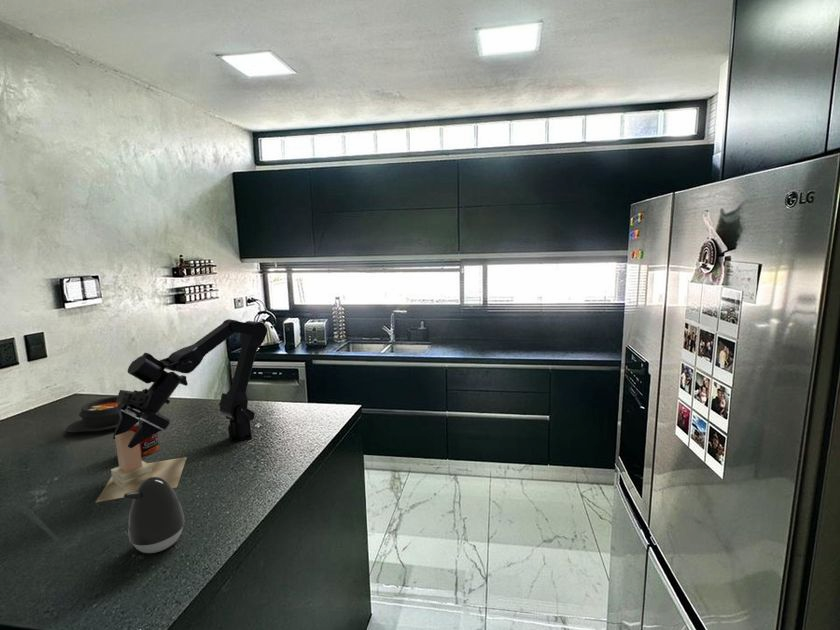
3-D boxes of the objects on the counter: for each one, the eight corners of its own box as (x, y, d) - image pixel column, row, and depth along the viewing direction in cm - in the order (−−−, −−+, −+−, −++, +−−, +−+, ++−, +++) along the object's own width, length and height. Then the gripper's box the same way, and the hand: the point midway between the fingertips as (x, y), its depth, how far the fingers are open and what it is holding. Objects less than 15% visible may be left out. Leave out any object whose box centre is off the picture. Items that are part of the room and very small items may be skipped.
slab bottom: (140, 470, 124) (140, 464, 123) (152, 477, 120) (151, 471, 120) (112, 481, 118) (111, 475, 118) (124, 489, 114) (123, 483, 114)
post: (135, 462, 121) (131, 430, 119) (142, 466, 119) (137, 433, 117) (119, 468, 118) (114, 435, 116) (125, 473, 115) (121, 439, 114)
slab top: (140, 464, 123) (139, 458, 123) (151, 471, 120) (151, 465, 119) (111, 475, 118) (110, 469, 118) (123, 483, 114) (122, 476, 114)
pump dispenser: (120, 551, 92) (110, 484, 89) (170, 523, 100) (162, 462, 98) (146, 568, 86) (136, 498, 84) (196, 538, 95) (188, 473, 93)
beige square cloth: (187, 458, 131) (186, 456, 131) (177, 489, 115) (176, 487, 115) (117, 470, 125) (116, 468, 125) (95, 504, 109) (95, 502, 109)
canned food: (146, 459, 132) (141, 424, 130) (124, 457, 133) (119, 423, 132) (165, 447, 139) (161, 414, 137) (144, 445, 141) (140, 413, 139)
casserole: (151, 409, 173) (148, 389, 171) (151, 425, 157) (148, 403, 156) (71, 424, 160) (67, 402, 158) (62, 443, 144) (58, 419, 143)
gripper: (120, 372, 123) (79, 422, 116) (152, 383, 112) (108, 439, 105) (153, 391, 131) (116, 439, 123) (186, 402, 120) (148, 456, 113)
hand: (121, 443), depth 116 cm, fingers open, 9 cm apart
